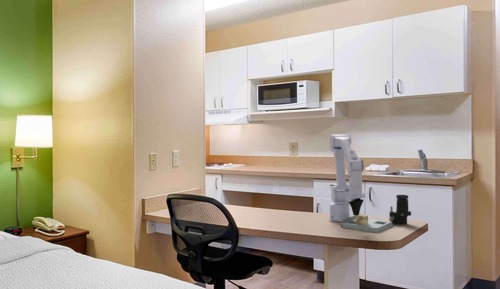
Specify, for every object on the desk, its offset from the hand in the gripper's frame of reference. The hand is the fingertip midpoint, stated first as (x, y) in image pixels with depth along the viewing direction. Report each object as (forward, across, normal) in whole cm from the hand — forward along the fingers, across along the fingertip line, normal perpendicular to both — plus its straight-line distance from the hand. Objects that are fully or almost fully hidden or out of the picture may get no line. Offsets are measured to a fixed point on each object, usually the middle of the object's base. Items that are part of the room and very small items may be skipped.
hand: (356, 215), depth 188 cm
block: (+5, +6, 0) cm, 8 cm away
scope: (+7, +25, -10) cm, 28 cm away
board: (+7, +10, 0) cm, 12 cm away
